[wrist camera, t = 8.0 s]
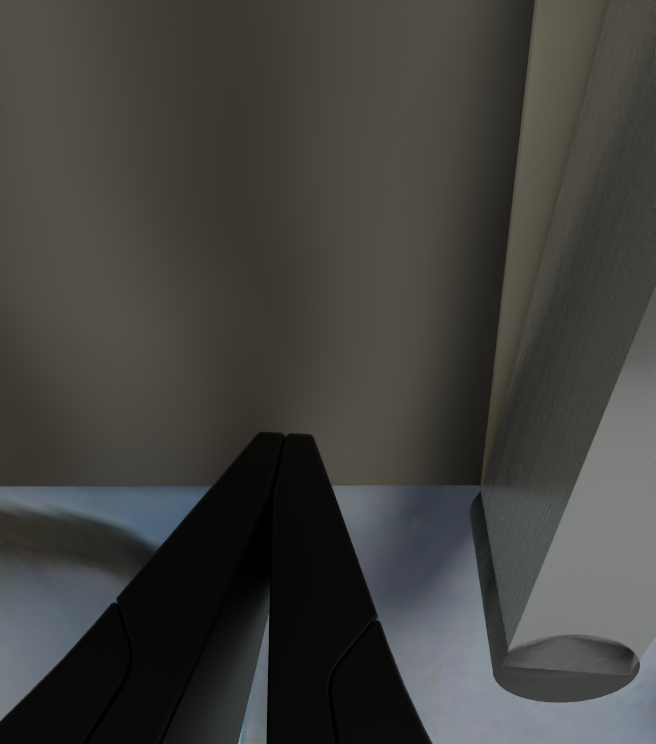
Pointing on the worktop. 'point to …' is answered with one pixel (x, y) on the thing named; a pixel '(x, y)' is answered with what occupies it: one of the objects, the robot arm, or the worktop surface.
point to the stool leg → (583, 408)
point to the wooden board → (274, 229)
